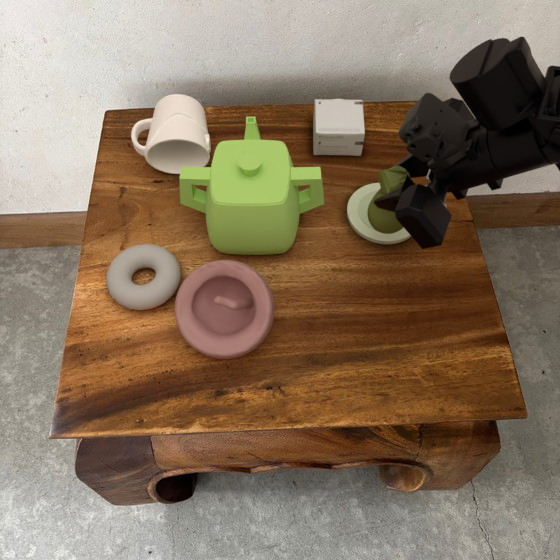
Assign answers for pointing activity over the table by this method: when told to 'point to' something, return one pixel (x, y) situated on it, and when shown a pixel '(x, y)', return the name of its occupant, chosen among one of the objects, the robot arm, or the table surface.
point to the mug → (175, 135)
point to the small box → (338, 127)
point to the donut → (150, 292)
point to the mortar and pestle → (224, 309)
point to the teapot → (251, 194)
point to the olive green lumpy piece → (388, 183)
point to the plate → (360, 218)
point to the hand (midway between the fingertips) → (382, 189)
